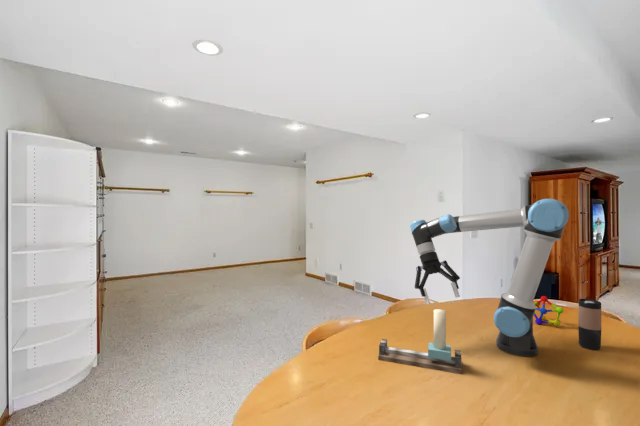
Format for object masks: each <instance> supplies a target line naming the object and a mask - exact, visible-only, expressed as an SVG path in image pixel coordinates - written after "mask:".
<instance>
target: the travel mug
mask: <svg viewBox="0 0 640 426" xmlns="http://www.w3.org/2000/svg"><path fill="white" fill-rule="evenodd" d="M577 312H578V315H577V316H578V318H577V319H578V321H577V325H578V328H577V329H578V330H577V331H578V332H577V333H578V345H579V347H580V348H583V349H585V350H589V351H598V352H599V351H600V350H601V347H602V346H601V345H602V344H601V343H602V302H601V301H599V300H596V299H590V298H579V299H578V311H577Z"/></svg>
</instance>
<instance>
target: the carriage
mask: <svg viewBox="0 0 640 426" xmlns="http://www.w3.org/2000/svg"><path fill="white" fill-rule="evenodd" d="M427 348H428V349H427V353H428V357H429V358H435V359H442V360H448V361H451V357H452V348H451V345H450V344H447V311H446V310H445V309H440V308H436V309H433V342H428V347H427Z"/></svg>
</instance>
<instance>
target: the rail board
mask: <svg viewBox="0 0 640 426" xmlns="http://www.w3.org/2000/svg"><path fill="white" fill-rule="evenodd" d="M461 351H462V350H459V349H454V356H451V361H448V360H442V359H435V358H429V357H428V352H426V351H425V352H424V351H418V350H413V349H406V348H399V347H393V346H388V339H385V338H381V340H380V343H379V345H378V357H377V358H378V360H380V361H385V362H389V363H390V362H391V363H396V364H402V365H408V366H413V367H414V366H415V367H418V368H419V367H420V368H425V369H431V370H437V371H442V372H449V373H454V374H460V375H462V371H463V370H462V355H463V353H462V352H461Z"/></svg>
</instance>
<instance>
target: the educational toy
mask: <svg viewBox="0 0 640 426" xmlns="http://www.w3.org/2000/svg"><path fill="white" fill-rule="evenodd" d="M533 303H534V305H535V306H536V309H535V311H538V313H539V316H538V315H537V313H536V312H534V315H533V317H534V318H535V320H534V322H535V324H537V325H538V324H539V325H540V326H541V325H542V324H549V325H550V324H553V325H554V326H555V327H560V326H561V322H560V317H561V314H563V313H564V308H563V307H561V306H557V305H555V304H553V302H551V301H549V299H548V297H547V296H545V295H542V296H541V297H540V299H538V300H537V299H536V300H535V299H534V300H533ZM541 303H542V307H540V306H541ZM546 303H547V304H548V305H550V306H551V307H553V308H554V309H547V308H546ZM551 312H553V313H555V312H557V313H556V318H555V319H554V320H552V319H549V318H547V317H546V316H545V315H546V314H547V313H551ZM539 325H538V326H539Z"/></svg>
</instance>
